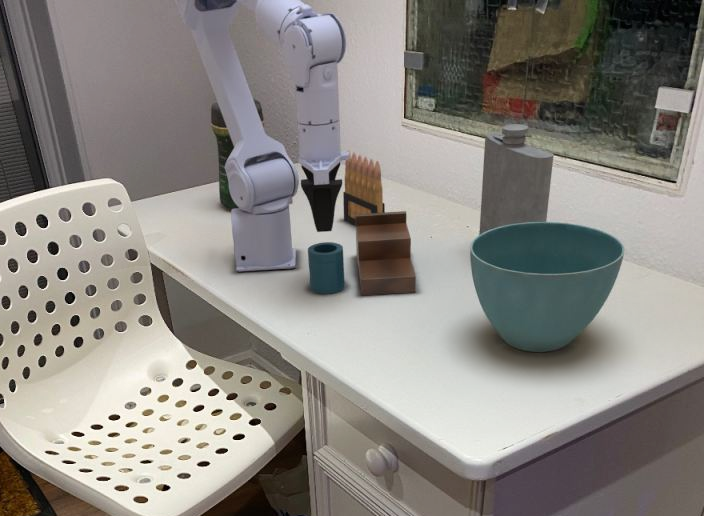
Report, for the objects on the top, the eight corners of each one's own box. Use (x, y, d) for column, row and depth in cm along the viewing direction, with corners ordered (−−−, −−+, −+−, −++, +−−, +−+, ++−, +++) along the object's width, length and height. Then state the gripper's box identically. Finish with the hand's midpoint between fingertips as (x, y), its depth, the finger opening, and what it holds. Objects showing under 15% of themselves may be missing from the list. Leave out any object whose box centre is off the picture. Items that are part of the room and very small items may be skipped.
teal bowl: (439, 327, 111) (442, 238, 103) (550, 298, 116) (561, 211, 109) (517, 384, 98) (527, 286, 90) (639, 349, 103) (658, 253, 95)
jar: (310, 295, 122) (307, 255, 119) (310, 281, 126) (307, 243, 123) (345, 293, 122) (343, 253, 118) (343, 279, 126) (342, 241, 122)
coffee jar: (231, 214, 154) (217, 107, 143) (216, 204, 160) (202, 100, 148) (277, 205, 157) (268, 99, 146) (261, 194, 163) (251, 92, 152)
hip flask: (544, 278, 122) (560, 135, 110) (520, 283, 121) (533, 140, 109) (492, 245, 134) (501, 112, 122) (470, 249, 133) (477, 116, 121)
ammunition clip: (385, 233, 141) (385, 160, 134) (376, 236, 140) (375, 163, 133) (352, 218, 149) (349, 148, 141) (343, 220, 148) (340, 150, 141)
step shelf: (361, 295, 121) (360, 249, 117) (356, 257, 133) (355, 214, 129) (415, 292, 121) (416, 245, 116) (405, 254, 133) (405, 211, 129)
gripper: (350, 131, 104) (353, 237, 112) (345, 106, 115) (349, 204, 124) (295, 135, 104) (302, 240, 112) (296, 109, 116) (303, 207, 124)
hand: (323, 221), depth 118 cm, fingers open, 7 cm apart
